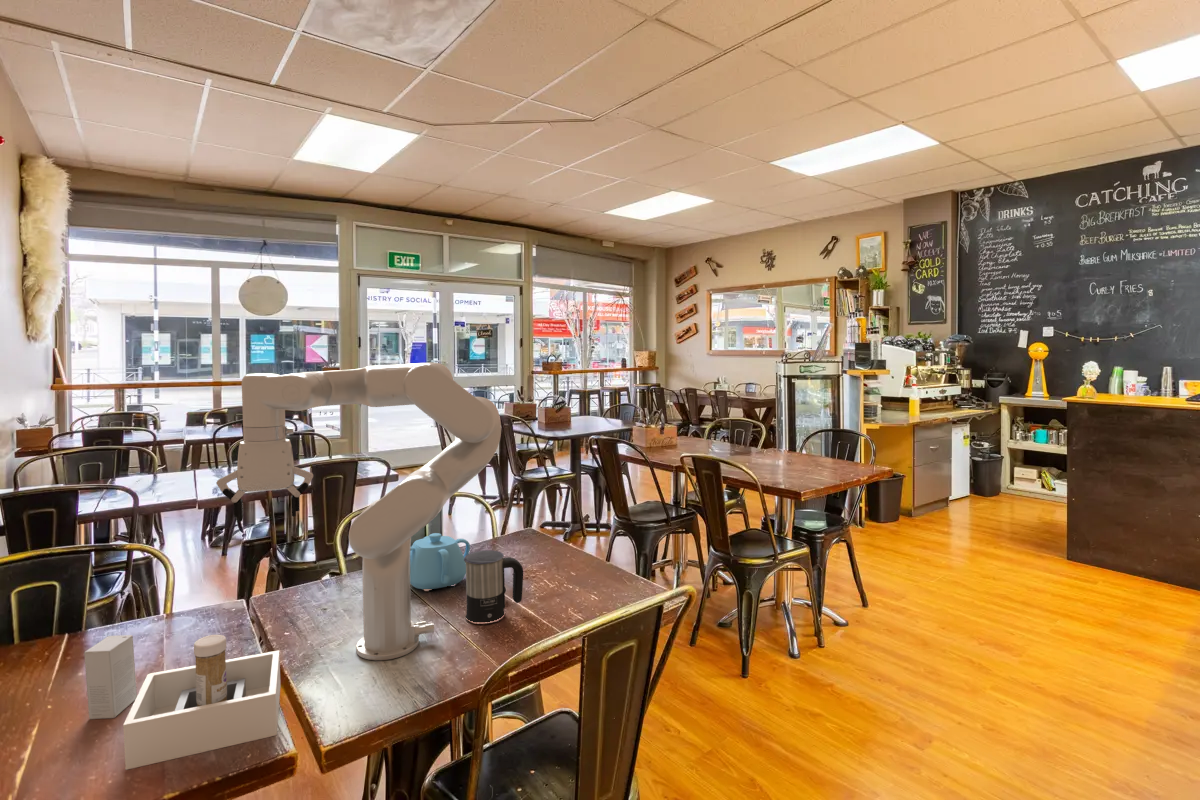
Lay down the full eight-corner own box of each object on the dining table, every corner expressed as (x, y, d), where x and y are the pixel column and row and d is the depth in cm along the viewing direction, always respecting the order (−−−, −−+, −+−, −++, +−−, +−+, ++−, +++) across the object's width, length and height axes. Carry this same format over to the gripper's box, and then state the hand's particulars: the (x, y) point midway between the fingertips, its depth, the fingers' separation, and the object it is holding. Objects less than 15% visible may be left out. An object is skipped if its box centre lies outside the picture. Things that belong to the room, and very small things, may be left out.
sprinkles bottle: (228, 720, 103) (226, 641, 102) (195, 728, 100) (193, 648, 99) (227, 706, 107) (225, 631, 106) (196, 714, 104) (194, 637, 103)
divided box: (280, 686, 115) (279, 650, 114) (277, 734, 100) (275, 693, 100) (149, 712, 106) (147, 673, 106) (125, 769, 92) (123, 725, 91)
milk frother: (477, 629, 139) (476, 565, 138) (444, 607, 151) (443, 548, 150) (529, 612, 148) (529, 552, 147) (494, 593, 160) (494, 537, 159)
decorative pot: (429, 570, 177) (428, 523, 176) (477, 577, 171) (477, 529, 170) (391, 590, 162) (390, 539, 160) (443, 599, 156) (442, 546, 155)
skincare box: (112, 700, 110) (108, 635, 109) (137, 699, 110) (134, 634, 110) (87, 720, 104) (82, 651, 103) (113, 719, 104) (110, 650, 103)
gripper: (311, 430, 132) (314, 508, 133) (217, 434, 124) (220, 517, 126) (312, 434, 125) (314, 517, 126) (212, 439, 118) (215, 527, 119)
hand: (267, 517), depth 126 cm, fingers open, 9 cm apart
